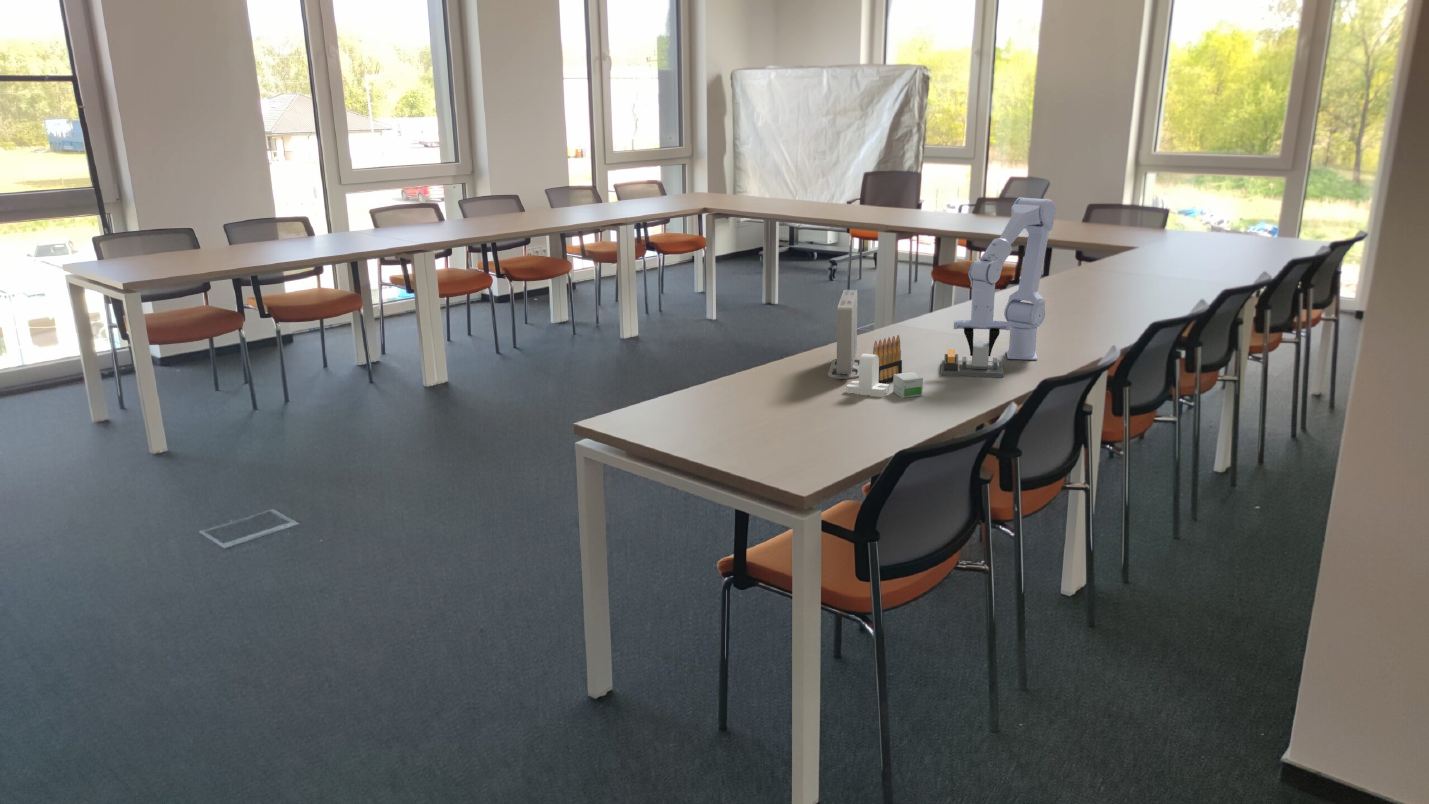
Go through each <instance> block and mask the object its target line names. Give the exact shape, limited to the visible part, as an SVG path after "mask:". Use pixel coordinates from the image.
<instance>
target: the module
mask: <svg viewBox="0 0 1429 804" xmlns="http://www.w3.org/2000/svg"><path fill="white" fill-rule="evenodd" d="M989 358H990V356H989V340H988V341H987V340H973V356H971V361H972V369H988V361H989Z"/></svg>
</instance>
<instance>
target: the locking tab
mask: <svg viewBox="0 0 1429 804" xmlns="http://www.w3.org/2000/svg"><path fill="white" fill-rule="evenodd" d="M947 354H948V357H947V363H955V354H956V348H954V349H953V348H948V349H947Z"/></svg>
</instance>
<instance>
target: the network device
mask: <svg viewBox="0 0 1429 804" xmlns="http://www.w3.org/2000/svg"><path fill="white" fill-rule="evenodd" d="M858 293H859V292H858V289H843V292H842V294H841V297H840V299H839V302H838V305H837V309H836V358H833V359H831V360H832V361H831V363H830V367H829V368H828V372H827V376H828V377H829V378H831V379H845V380H853V379H859V364H858V365H855V362H857V363H859V362H860V358H856V356H857V350H858V347H857V346H858V344H857V343H858ZM834 371H836V374H834V373H833V372H834ZM853 371H854V372H857V373H856V374H855V375H852V373H853Z"/></svg>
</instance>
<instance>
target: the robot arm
mask: <svg viewBox="0 0 1429 804" xmlns="http://www.w3.org/2000/svg"><path fill="white" fill-rule="evenodd" d="M1010 210H1011V211H1010V212H1011V217H1010V219H1009V220H1008V222H1007V224H1006V226H1005V227H1004V229H1003V231H1002V233H1001V234H1000V236H999V237H997V238H994V239H992V241H991V242H990V244H989V245H988V246H987V248H986V249H985V251H984V253H983V254H982V256H980V259H977V260H975V261H974V262H972V263H971V264H970V267H969V270H968V273H967V274H968V278H969V281H970V288H971V289H972V291H971V312H970V313H971V314H970V319H965V320H963V319H962V320H953V330H958V329H959V330H961V329H962V330H963V333H964V335H965V338H966V341H967V344H968V347H969V353H970V354H969V356H970V357H972V356H973V341H974V330H988V331H989V332H988V344H989V357H991V354H992V350H993V348H994V345H995V343H996V340H997V339H998V338H999V335H1000V333H1001V332H1000V331H1002V330H1003V331H1009V340H1008V341H1009V343H1008V348H1007V349H1005V352H1006V356H1007V360H1025V361H1026V360H1030V361H1031V360H1032V361H1038V356H1037V352H1036V350H1037V349H1036V345H1037V334H1038V333H1037V332H1038V327H1041V325H1042V323H1044V321H1045V316H1046V310H1045V309H1046V300H1045V298H1043V296H1042V295H1040V293H1039V288H1040V287H1039V286H1040V283H1041V282H1040V281H1041V276H1042V272H1043V267H1044V260H1045V255H1046V251H1047V245H1048V240H1049V235H1050V231H1052V230H1053V227H1054V223H1055V218H1056V217H1055V216H1056V211H1057V208H1056V206H1055V203H1054V201H1053V200H1052V199H1051V198H1032V197H1031V198H1030V197H1022V196H1019V197H1017V199H1015V200H1014V202H1013V205H1012V206H1011V209H1010ZM1024 229H1026V232H1028V233H1027V234H1028V236H1027V242H1026V248H1025V253H1024V257H1023V258H1024V259H1023V261H1022V262H1023V263H1022V267H1021V273H1020V279H1019V285H1018V289H1017V290H1016V291H1015V292H1013V293H1012V294H1010V295H1009V296H1008V301H1007V303H1006V305H1005V308H1004V310H1003V312H1004V318H1005V321H1003V320H1002V321H1001V320H994V309H995V295H996V293H995V292H996V283H997V282H998V281H999V280H1000V278H1001V275H1002V270H1003V267H1004V266H1003V265H1004V263H1005V262H1006V261H1007V259H1008V257H1009V256H1010V255H1011V253H1012V251H1013V248H1012V244H1013V243H1014V242H1015V240H1016V239H1017V238H1018V237H1019V235H1020V234H1021V233H1022V232H1023V230H1024ZM1026 301H1027V302H1026Z"/></svg>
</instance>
